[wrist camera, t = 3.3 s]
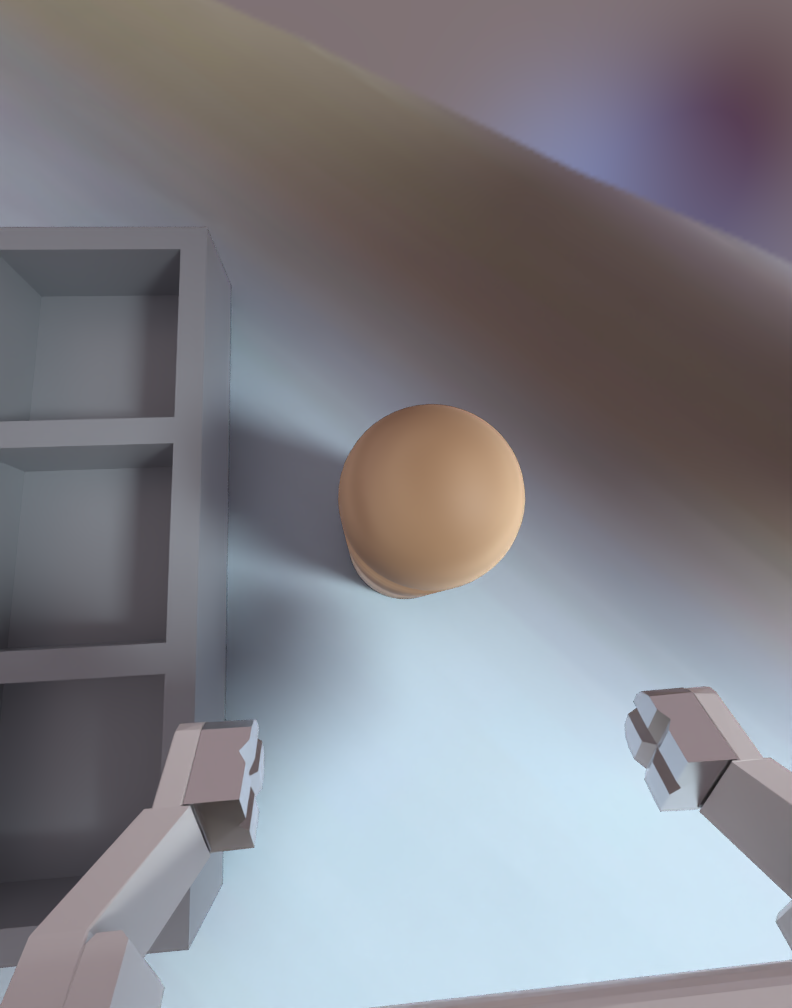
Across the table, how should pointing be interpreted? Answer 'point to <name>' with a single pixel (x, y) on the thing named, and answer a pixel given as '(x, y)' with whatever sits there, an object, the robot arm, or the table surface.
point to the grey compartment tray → (106, 545)
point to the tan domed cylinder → (429, 500)
